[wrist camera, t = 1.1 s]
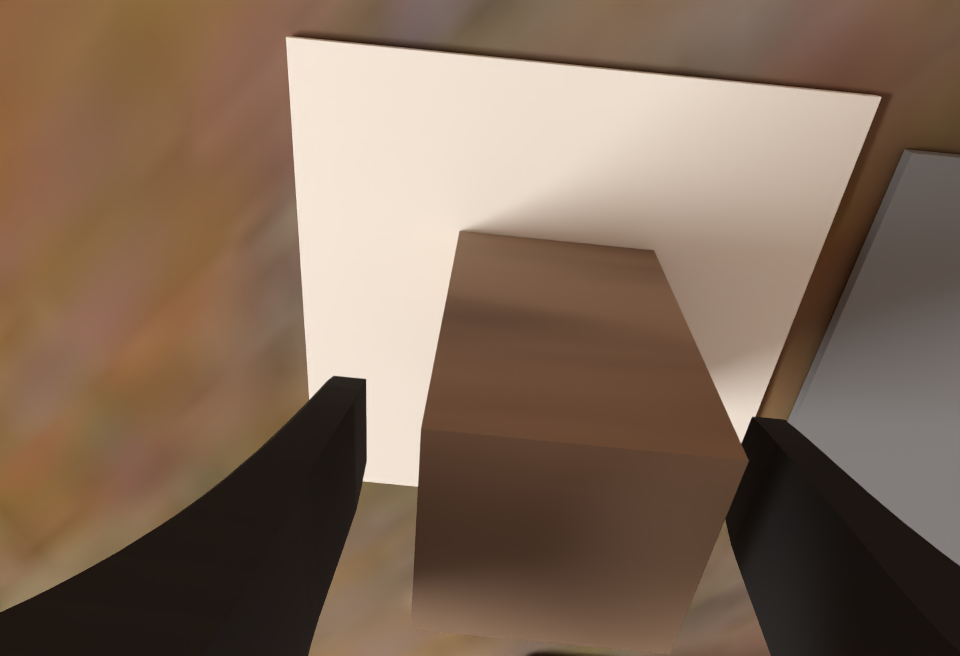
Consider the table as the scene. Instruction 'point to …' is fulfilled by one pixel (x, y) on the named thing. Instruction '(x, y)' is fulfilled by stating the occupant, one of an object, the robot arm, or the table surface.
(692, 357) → the walnut block
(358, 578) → the table surface
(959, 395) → the grey mat
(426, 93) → the cream mat
